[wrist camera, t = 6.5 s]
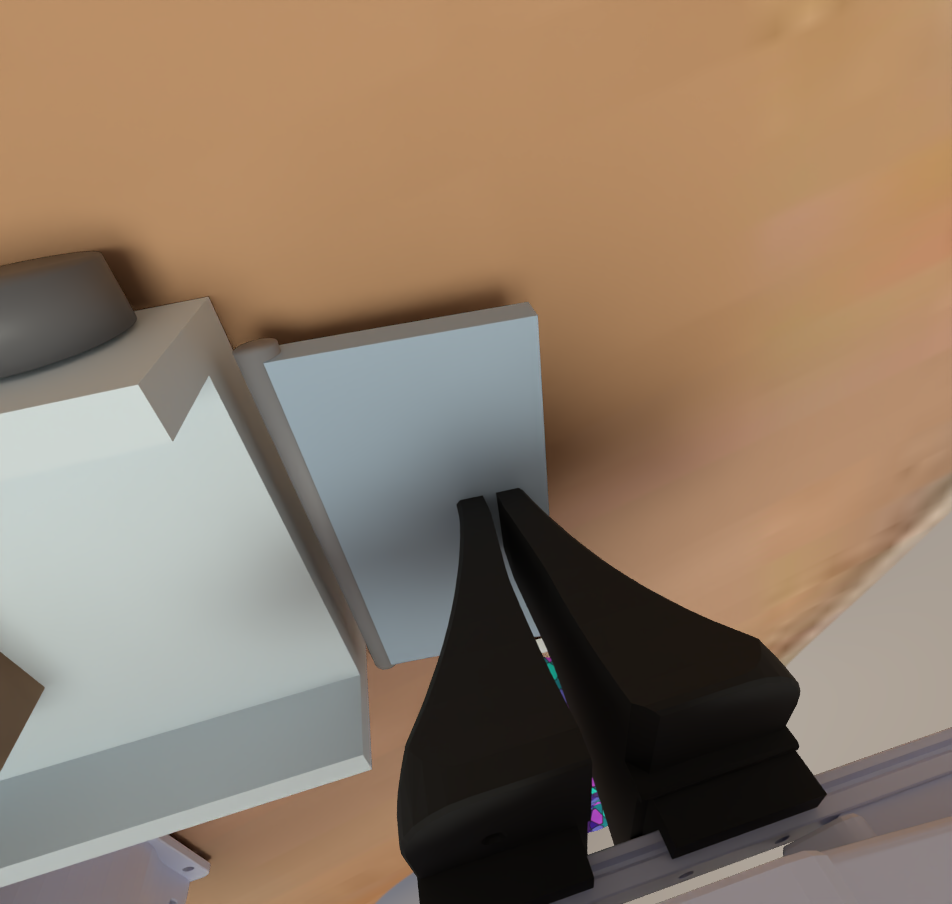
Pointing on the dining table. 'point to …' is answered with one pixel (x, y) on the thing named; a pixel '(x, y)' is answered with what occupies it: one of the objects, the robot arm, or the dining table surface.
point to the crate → (15, 703)
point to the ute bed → (153, 580)
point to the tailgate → (405, 454)
